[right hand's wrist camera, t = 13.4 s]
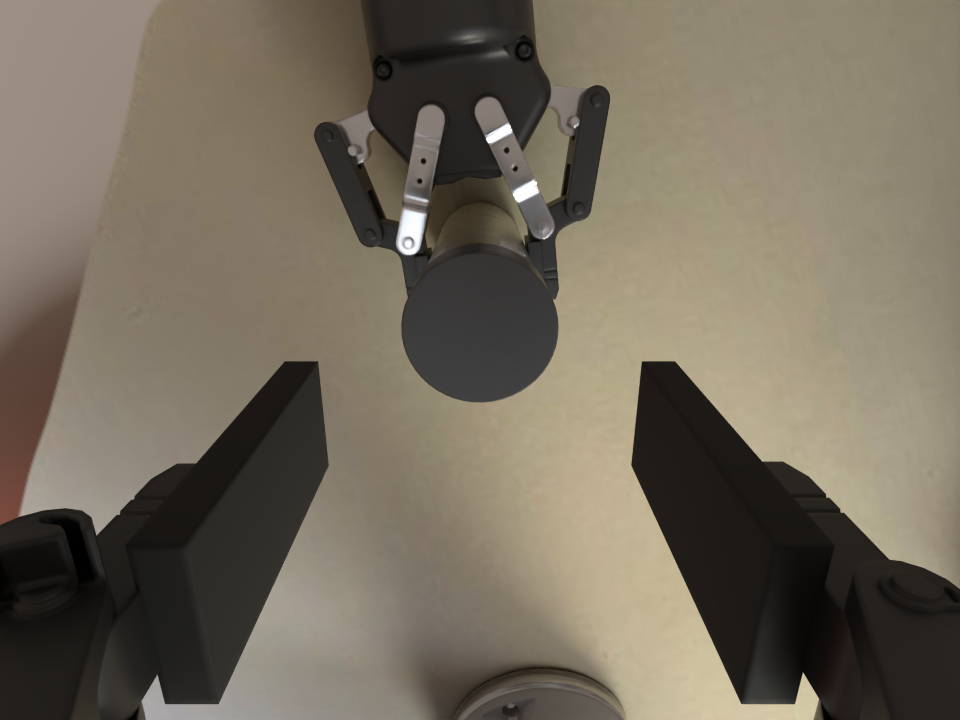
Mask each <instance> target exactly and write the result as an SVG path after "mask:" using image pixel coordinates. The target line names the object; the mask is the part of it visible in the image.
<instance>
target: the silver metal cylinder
mask: <svg viewBox="0 0 960 720" xmlns="http://www.w3.org/2000/svg"><path fill="white" fill-rule="evenodd" d="M474 243H487V244H494V245H498V246H502V247H505V248H508V249H510V250H512V251H514V252H516V253H518V254H519V255H521V256H523V257H524V258H525V259H526V260H528V261H529V262H530V263H531V264H532V262H531V260H530V257H529V255H528V252H527V250H526V248H525V245H524V243H523V240H522V238H521V235H520V233H519V231H518V228H517V226H516V224H515V222H514V221H513V219H512V218H511V217H510V215H509V214H508V213H507V212H505V211H504V210H503V209H501V208H500V207H498V206H495V205H493V204H489V203H483V202H477V203H471V204H467V205H465V206H462V207H460V208H459V209H457V210H456V211H455V212H453V213H452V214H451V215H450V216H449V218H448V219H447V220H446V222H445V224H444V226H443V228H442V231H441V233H440V235H439V238H438V240H437V243H436V245H435V248H434V250H433V252H432V255H431V257H430V260H429V262H428V264H429V263H430V262H431V261H432V260H433V259H435V258H436V257H438V256H439V255H440V254H442V253H444V252H446V251H448V250H450V249H452V248H455V247H458V246H462V245H466V244H474ZM532 265H533V264H532Z"/></svg>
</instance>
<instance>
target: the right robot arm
mask: <svg viewBox="0 0 960 720" xmlns="http://www.w3.org/2000/svg"><path fill="white" fill-rule="evenodd" d="M328 466H329V464H328V455H327V445H326V435H325V425H324V415H323V406H322V396H321V386H320V376H319V366H318V361H285V362H284V363H283V364H282V365H281V367H280V368H279V369H278V370H277V371H276V372H275V374H274V375H273V376H272V377H271V378H270V379H269V380H268V382H267V383H266V384H265V385H264V386H263V387H262V388H261V390H260V391H259V392H258V393H257V394H256V395H255V397H254V398H253V399H252V400H251V401H250V402H249V403H248V405H247V406H246V407H245V408H244V409H243V410H242V411H241V413H240V414H239V415H238V416H237V417H236V418H235V420H234V421H233V422H232V423H231V424H230V425H229V426H228V428H227V429H226V430H225V431H224V432H223V433H222V434H221V436H220V437H219V438H218V439H217V440H216V441H215V443H214V444H213V445H212V446H211V447H210V448H209V449H208V451H207V452H206V453H205V454H204V455H203V456H202V457H201V459H200V460H199V461H198V462H197V463H196V464H176V465H174V466H172V467H171V468H169V469H167V470H166V471H164V472H162V473H161V474H159V475H157V476H155V477H154V478H152V479H151V480H150V481H149V482H148V483H147V484H146V485H145V486H144V487H143V488H142V489H141V490H140V491H139V492H138V493H137V494H136V495H135V499H134V500H131V501H130V502H129V503H128V504H127V505H126V506H125V507H124V508H123V509H122V510H121V511H120V515H116V516H115V517H114V518H113V519H112V520H111V521H110V522H109V524H108V525H107V526H106V527H105V528H104V529H103V530H102V531H101V532H100V533H99V534H98V535H97V536H96V532H95V529H94V525H93V521H92V518H91V517H90V516H89V515H87V514H86V513H84V512H83V511H80V510H73V509H66V508H64V509H54V510H44V511H40V512H36V513H32V514H29V515H25V516H21V517H18V518H16V519H13V520H11V521H9V522H6V523H4V524H2V525H0V720H145V713H144V709H143V706H142V702H141V701H142V699H143V698H144V696H145V694H146V693H147V691H148V689H149V688H150V686H151V684H152V683H153V681H154V679H155V678H156V676H157V674H158V678H159V682H160V685H161V689H162V693H163V697H164V701H165V704H219V702H220V700H221V698H222V695H223V693H224V691H225V689H226V687H227V685H228V682H229V680H230V678H231V676H232V674H233V672H234V669H235V667H236V665H237V663H238V661H239V659H240V656H241V654H242V652H243V650H244V648H245V646H246V643H247V641H248V639H249V637H250V635H251V633H252V630H253V628H254V626H255V624H256V622H257V620H258V617H259V615H260V613H261V611H262V609H263V607H264V604H265V602H266V600H267V598H268V596H269V594H270V591H271V589H272V587H273V585H274V583H275V581H276V578H277V576H278V574H279V572H280V570H281V568H282V565H283V563H284V561H285V559H286V557H287V555H288V552H289V550H290V548H291V546H292V544H293V542H294V539H295V537H296V535H297V533H298V531H299V529H300V526H301V524H302V522H303V520H304V518H305V516H306V513H307V511H308V509H309V507H310V505H311V502H312V500H313V498H314V496H315V494H316V492H317V489H318V487H319V485H320V483H321V481H322V479H323V476H324V474H325V472H326V470H327V468H328ZM631 466H632V468H633V470H634V472H635V474H636V476H637V479H638V481H639V483H640V485H641V487H642V489H643V492H644V494H645V496H646V498H647V500H648V502H649V505H650V507H651V509H652V511H653V513H654V516H655V518H656V520H657V522H658V524H659V526H660V529H661V531H662V533H663V535H664V537H665V539H666V542H667V544H668V546H669V548H670V550H671V552H672V555H673V557H674V559H675V561H676V563H677V565H678V568H679V570H680V572H681V574H682V576H683V578H684V581H685V583H686V585H687V587H688V589H689V591H690V594H691V596H692V598H693V600H694V602H695V604H696V607H697V609H698V611H699V613H700V615H701V617H702V620H703V622H704V624H705V626H706V628H707V630H708V633H709V635H710V637H711V639H712V641H713V643H714V646H715V648H716V650H717V652H718V654H719V656H720V659H721V661H722V663H723V665H724V667H725V669H726V672H727V674H728V676H729V678H730V680H731V682H732V685H733V687H734V689H735V691H736V693H737V695H738V698H739V700H740V702H741V704H795V701H796V697H797V693H798V689H799V685H800V682H801V678H802V674H803V673H804V674H805V676H806V678H807V679H808V681H809V683H810V684H811V686H812V688H813V689H814V691H815V693H816V694H817V696H818V698H819V702H818V706H817V709H816V713H815V717H814V720H960V589H959V588H958V587H956V586H955V585H954V584H952V583H951V582H950V581H948V580H947V579H945V578H943V577H941V576H939V575H937V574H935V573H933V572H931V571H929V570H927V569H925V568H922V567H918V566H915V565H912V564H909V563H905V562H902V561H895V560H889V559H888V558H887V557H886V556H885V555H884V554H883V553H882V552H881V551H880V550H879V549H878V548H877V546H876V545H875V544H874V543H873V542H872V541H871V540H870V539H869V538H868V537H867V536H866V535H865V534H864V533H863V532H862V531H861V530H860V529H859V528H858V527H857V526H856V525H855V524H854V523H853V522H852V521H851V520H850V519H849V518H848V517H847V516H846V514H845V513H841V512H840V508H839V507H838V506H837V505H836V504H835V503H834V502H833V501H832V500H831V499H830V498H826V494H825V493H824V492H823V491H822V490H821V489H820V488H819V487H818V486H817V485H816V484H815V482H814V481H813V480H812V479H811V478H810V477H809V476H807V475H805V474H803V473H802V472H800V471H798V470H797V469H795V468H793V467H791V466H790V465H788V464H786V463H784V462H762V461H761V460H760V459H759V457H758V456H757V455H756V454H755V453H754V452H753V451H752V449H751V448H750V447H749V446H748V445H747V444H746V443H745V441H744V440H743V439H742V438H741V437H740V436H739V434H738V433H737V432H736V431H735V430H734V429H733V428H732V426H731V425H730V424H729V423H728V422H727V421H726V420H725V418H724V417H723V416H722V415H721V414H720V413H719V411H718V410H717V409H716V408H715V407H714V406H713V405H712V403H711V402H710V401H709V400H708V399H707V398H706V397H705V395H704V394H703V393H702V392H701V391H700V390H699V388H698V387H697V386H696V385H695V384H694V383H693V382H692V380H691V379H690V378H689V377H688V376H687V375H686V374H685V372H684V371H683V370H682V369H681V368H680V367H679V365H678V364H677V363H676V362H675V361H642V366H641V376H640V386H639V396H638V406H637V415H636V425H635V435H634V445H633V455H632V464H631ZM453 720H627V718H626V715H625V712H624V710H623V708H622V706H621V705H620V703H619V702H618V700H617V699H616V698H615V697H614V696H613V695H612V694H611V693H610V692H609V691H608V690H607V689H606V688H604V687H603V686H602V685H600V684H599V683H597V682H595V681H593V680H591V679H589V678H587V677H585V676H582V675H579V674H576V673H572V672H568V671H563V670H556V669H528V670H521V671H516V672H512V673H508V674H505V675H502V676H499V677H497V678H494V679H492V680H490V681H488V682H486V683H485V684H483V685H481V686H480V687H478V688H477V689H476V690H474V691H473V692H472V693H471V694H470V695H468V697H467V698H466V699H465V700H464V701H463V702H462V703H461V705H460V706H459V708H458V709H457V711H456V713H455V715H454V717H453Z"/></svg>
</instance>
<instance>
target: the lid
mask: <svg viewBox="0 0 960 720" xmlns="http://www.w3.org/2000/svg"><path fill="white" fill-rule="evenodd" d="M401 325H402V339H403V344H404V348H405V351H406V354H407V356H408V358H409V360H410V362H411V364H412V366H413V367H414V369H415V370H416V371H417V373H418V374H419V375H420V376H421V377H422V378H423V379H424V380H425V381H426V382H427V383H428V384H429V385H430V386H432V387H433V388H435V389H436V390H438V391H439V392H441V393H443V394H445V395H447V396H450V397H452V398H455V399H459V400H463V401H469V402H492V401H497V400H501V399H505V398H507V397H510V396H513V395H515V394H517V393H519V392H521V391H522V390H524V389H525V388H527V387H528V386H529V385H531V384H532V383H533V382H534V381H535V380H536V379H537V378H538V377H539V376H540V375H541V374H542V373H543V371H544V370H545V368H546V367H547V366H548V364H549V362H550V360H551V358H552V356H553V353H554V350H555V348H556V343H557V339H558V316H557V312H556V307H555V304H554V302H553V299H552V297H551V294H550V292H549V290H548V288H547V285H546V284H545V282H544V280H543V278H542V276H541V275H540V273H539V272H538V271H537V269H536V268H535V267H534V266H533V265H532V264H531V263H530V262H529V261H528V260H526V259H525V258H524V257H523V256H521V255H519V254H518V253H516V252H514V251H512V250H510V249H508V248H505V247H502V246H498V245H494V244H487V243H474V244H466V245H462V246H458V247H455V248H452V249H450V250H448V251H446V252H444V253H442V254H440V255H439V256H438V257H436V258H435V259H433V260H432V261H431V262H430V263H429V264H428V265H427V266H426V267H425V268H424V269H423V271H422V272H421V273H420V275H419V276H418V278H417V280H416V281H415V283H414V285H413V287H412V290H411V292H410V294H409V296H408V299H407V301H406V304H405V307H404V311H403V315H402V324H401Z"/></svg>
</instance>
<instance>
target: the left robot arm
mask: <svg viewBox="0 0 960 720" xmlns="http://www.w3.org/2000/svg"><path fill="white" fill-rule="evenodd" d="M361 6H362V12H363V18H364V24H365V30H366V36H367V42H368V48H369V54H370V60H371V66H372V72H373V86H372V91H371V95H370V98H369V101H368V109H367V110H364V111H362V112H359V113H357V114H355V115H352V116H350V117H347V118H345V119H342V120H340V121H338V122H324V123H321V124H319V125H318V126H317V127H316V129H315V133H314V137H315V141H316V143H317V145H318V148H319V150H320V152H321V155H322V157H323V159H324V161H325V164H326V166H327V168H328V170H329V173H330V175H331V177H332V180H333V182H334V184H335V186H336V189H337V191H338V193H339V196H340V198H341V200H342V202H343V205H344V207H345V209H346V211H347V214H348V216H349V218H350V221H351V223H352V225H353V227H354V230H355V232H356V234H357V236H358V239H359V241H360V242H361V243H362V244H363V245H364V246H367V247H375V246H378V247H382V248H387V249H391V250H393V251H395V252H396V253H397V254H398V255H399V256H400V258H401V261H402V265H403V271H404V277H405V283H406V288H407V295H408V296H409V294H410V292H411V290H412V287H413V285H414V283H415V281H416V280H417V278H418V276H419V275H420V273H421V272H422V271H423V269H424V268H425V267H426V266H427V265H428V262H429V260H430V257H431V255H432V249H431V248H427V244H426V238H425V235H426V230H427V225H428V220H429V215H430V210H431V206H432V202H433V198H434V193H435V188H436V185H442V184H450V183H454V182H456V181H458V180H461V179H463V178H465V177H475V178H482V179H489V178H497V177H501V175H503V176H504V178H505V180H506V182H507V184H508V186H509V188H510V190H511V193H512V195H513V197H514V199H515V201H516V203H517V205H518V207H519V209H520V211H521V213H522V215H523V217H524V219H525V222H526V224H527V228H528V235H526V236H524V238H525V248H526V250H527V252H528V255H529V257H530V260H531V262H532V264H533V266H534V267H535V268H536V269H537V271H538V272H539V273H540V275H541V276H542V278H543V280H544V282H545V284H546V285H547V288H548V290H549V292H550V294H551V297H552V299H556V296H557V293H558V290H559V286H558V273H557V261H556V248H555V239H556V236H557V234H558V232H559V231H560V230H561V229H562V228H564V227H566V226H568V225H570V224H572V223H574V222H576V221H581V220H584V219H585V218H587V217H588V215H589V214H590V212H591V207H592V201H593V196H594V190H595V184H596V178H597V173H598V167H599V161H600V155H601V150H602V144H603V138H604V132H605V127H606V121H607V115H608V109H609V104H610V95H609V92H608V91H607V89H606V88H604V87H603V86H599V85H596V86H592V87H590V88H588V89H581V88H573V87H565V86H557V85H550V81H549V79H548V77H547V75H546V74H545V72H544V71H543V69H542V67H541V65H540V63H539V60H538V56H537V50H536V38H535V25H534V13H533V0H361ZM547 107H548V108H551V109H552V110H553V111H554V112H555V113H556V115H557V119H558V128H559V130H560V132H561V133H562V134H564V135H566V136H570V139H569V146H568V152H567V159H566V165H565V171H564V178H563V184H562V191H561V197H559V198H557V199H555V200H553V201H551V202H549V203H548V204H546V203H545V201H544V199H543V197H542V195H541V192H540V190H539V188H538V185H537V183H536V180H535V178H534V176H533V174H532V172H531V170H530V167H529V165H528V163H527V161H526V159H525V157H524V155H523V151H524V149H525V147H526V145H527V143H528V141H529V140H530V138H531V136H532V134H533V132H534V130H535V129H536V127H537V125H538V123H539V121H540V120H541V118H542V116H543V114H544V112H545V110H546V109H547ZM376 130H377V131H378V133H379V134H380V135H381V136H382V137H383V138H384V139H385V140H386V141H387V142H388V143H389V144H390V145H391V147H392V148H393V149H394V150H395V151H396V152H397V153H398V154H399V155H400V156H401V157H402V158H403V160H404V161H405V162H406V163H407V164H408V165H409V169H408V175H407V180H406V185H405V191H404V196H403V206H402V212H401V218H400V222H398V221H394V220H390V219H386V216H385V214H384V212H383V209H382V207H381V204H380V202H379V200H378V197H377V195H376V192H375V190H374V188H373V185H372V183H371V180H370V178H369V176H368V173H367V171H366V168H365V166H364V164H363V163H364V162H366V161H367V160H368V159H369V158H370V156H371V146H370V138H371V135H372V133H373V132H374V131H376Z"/></svg>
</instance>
